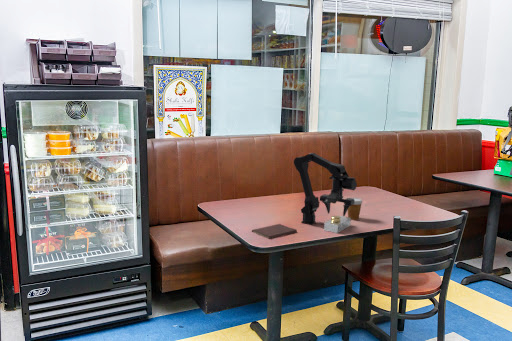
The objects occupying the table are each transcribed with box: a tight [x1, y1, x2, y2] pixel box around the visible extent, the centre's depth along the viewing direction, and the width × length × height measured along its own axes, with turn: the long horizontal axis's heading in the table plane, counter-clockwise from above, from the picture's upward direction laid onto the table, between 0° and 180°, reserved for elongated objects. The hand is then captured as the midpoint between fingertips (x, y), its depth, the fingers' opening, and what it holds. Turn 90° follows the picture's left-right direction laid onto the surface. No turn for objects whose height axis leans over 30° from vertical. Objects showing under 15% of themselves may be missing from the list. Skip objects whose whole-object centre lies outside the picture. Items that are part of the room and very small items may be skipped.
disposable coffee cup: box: [347, 197, 363, 221], centre depth 290 cm, size 10×10×12 cm
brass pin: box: [330, 215, 341, 223], centre depth 269 cm, size 5×5×6 cm
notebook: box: [251, 223, 298, 240], centre depth 263 cm, size 15×20×2 cm
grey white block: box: [323, 215, 352, 234], centre depth 272 cm, size 8×18×4 cm, turn 146°
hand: (336, 214), depth 268 cm, fingers open, 9 cm apart
